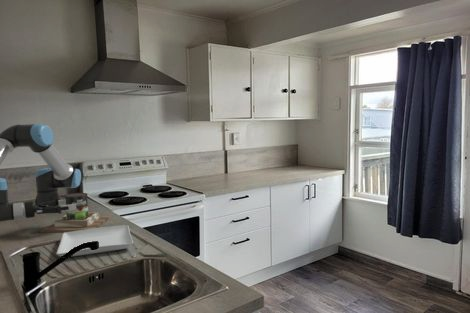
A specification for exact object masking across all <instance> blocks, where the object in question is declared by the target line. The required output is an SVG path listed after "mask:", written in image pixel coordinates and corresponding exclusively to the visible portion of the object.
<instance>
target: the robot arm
mask: <svg viewBox="0 0 470 313" xmlns="http://www.w3.org/2000/svg"><path fill="white" fill-rule="evenodd" d="M54 139H55V138H54V132H53V130H52V129H51V127H50V126H49V125H47V124H44V123H32V124H31V123H30V124H28V123H27V124H15V125H11V126H8V127H7V128H5V129H4V130H3V131H1V132H0V165H2V163H3V162H4V160H5V159H6V158H7V156H8V154H9V153H12V152H13V151H14V149H17V148H21V147H24V148H25V147H28V148H29V150H31V151H32V152H33V153H36V154H37V153H38V155H39V156H40V157H41V159H42V160H43V161H44V163H46V165H47V166H48V167H45V168H40V169H37V170H36V171H35V184H36V185H35V186H36V196H35V200H34V201H33V200H32V201H25V202H23V201H22V202H14V203H9V195H8V194H9V191H8V189H9V188H8V185H7V184H8V183H7V180H6V178H3V177H0V223H1V222H8V221H9V222H10V221H15V220H16V221H20V220H21V219H25V218H26V219H30V218H35V216H36V214H37V215H42V214H60V215H61V214H62V212H66V211H69V210H76V204H69V205H66V203H65V199H62V197H61V196H60V192H59V189H73V188H74V189H75V188H78V187H79V186H80V185H81V182H82V181H81V180H82V172H81V170H80V169H79V168H74V167H73V166H72V165H71V164H68V163H67V162H66V160H64V158H63V157H62V155H61V154H60V152H58V150H57V149H56V147H55V146H54V144H53V143H54ZM35 213H36V214H35Z"/></svg>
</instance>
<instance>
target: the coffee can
mask: <svg viewBox="0 0 470 313" xmlns="http://www.w3.org/2000/svg"><path fill="white" fill-rule="evenodd" d="M64 198H65V199H64V200H65V203H66V205H69V204H76V210H69V211H65V215H66V219H67V220H86V219H87V218H89V217H88V213H89V205H88V204H89V203H88V202H89V201H88V193H86V192H74V193H73V192H72V193H69V194H68V193H67V194H64Z"/></svg>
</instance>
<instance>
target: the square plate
mask: <svg viewBox="0 0 470 313" xmlns="http://www.w3.org/2000/svg"><path fill="white" fill-rule="evenodd" d="M131 234H132V233H131V231H130V226H129V225H128V224H125V225H124V224H123V225H111V226H103V227H101V226H100V227H98V228H93V229H86V230H79V231H72V232H62V235H61V239H60V241H59V245H58V248H57V250H56V253H55V254H56V255H57V256H58V257H60V258H62V257H61V256H63V255H64V254H66V253H68V252H69V251H70V250H71V249H73V248H74V247H77V246H79V245H81V244H83V243H87V242H92V241H98V242H99V248H98V249H97V250H91V249H90V248H86V249H82V250H80V251H78V252H77V253H75V254H74V255H73V256H71V257H78V256H88V255H93V254H94V255H95V254H100V253H108V252H115V251H119V250H125V249H128V248H130V247H131V245H133V244H134V240H133V237H132V235H131ZM71 257H70V258H71Z"/></svg>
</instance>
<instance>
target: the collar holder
mask: <svg viewBox="0 0 470 313" xmlns="http://www.w3.org/2000/svg"><path fill="white" fill-rule="evenodd" d="M88 217H89V218H87V219H86V220H67V219H66V214H64V216H62V217H60V218H57V219H56V220H54V223H52V224H50V225H48V226H46V227H44V228H42V229H41V230H40V232H41V233H66V232H72V231H79V230H86V229H93V228H100V227H101V226H102V225H103V224H105V223H106V222H107V221H108V220H110V217H112V216H111V215H100V212H98V211H97V212H93V211H92V212H88ZM106 220H107V221H106ZM105 221H106V222H105ZM101 224H102V225H101Z"/></svg>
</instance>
